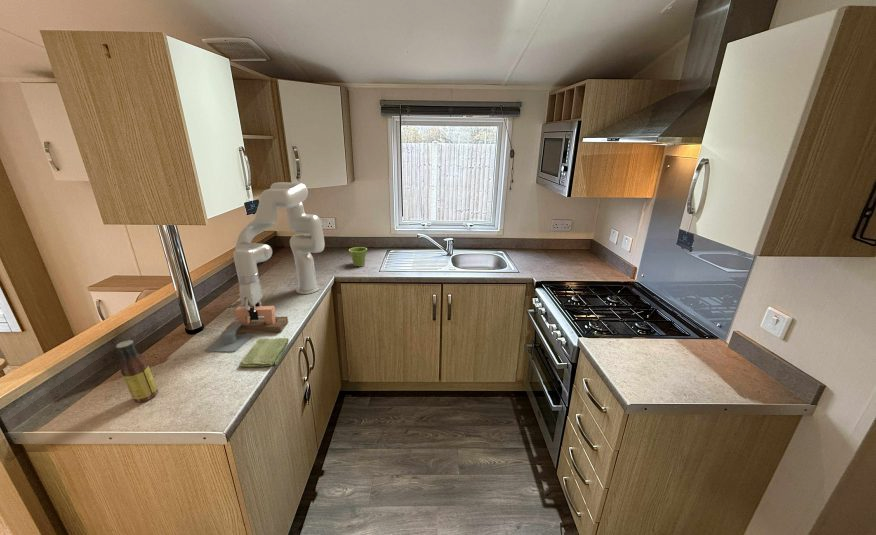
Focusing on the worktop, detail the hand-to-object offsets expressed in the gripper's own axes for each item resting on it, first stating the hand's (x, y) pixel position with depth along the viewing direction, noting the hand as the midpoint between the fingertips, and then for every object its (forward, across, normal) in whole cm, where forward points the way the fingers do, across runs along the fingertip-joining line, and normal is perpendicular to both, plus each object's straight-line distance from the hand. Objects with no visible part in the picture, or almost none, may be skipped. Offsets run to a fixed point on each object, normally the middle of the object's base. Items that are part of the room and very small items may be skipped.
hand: (256, 316), depth 145 cm
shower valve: (+6, +10, -6) cm, 14 cm away
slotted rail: (+5, 0, 0) cm, 5 cm away
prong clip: (+4, 0, 0) cm, 4 cm away
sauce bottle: (+6, +42, -17) cm, 46 cm away
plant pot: (+6, -82, +31) cm, 88 cm away
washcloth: (+6, +21, +12) cm, 24 cm away
